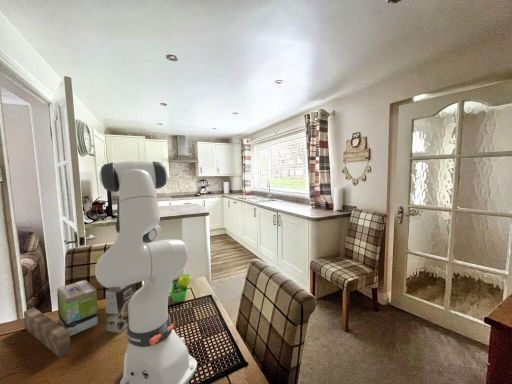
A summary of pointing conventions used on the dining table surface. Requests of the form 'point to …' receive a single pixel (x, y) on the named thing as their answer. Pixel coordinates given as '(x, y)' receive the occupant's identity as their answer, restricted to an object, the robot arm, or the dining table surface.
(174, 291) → the fruit basket
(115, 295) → the coffee box
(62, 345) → the grey-brown long bar
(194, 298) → the dining table surface
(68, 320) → the tea box
